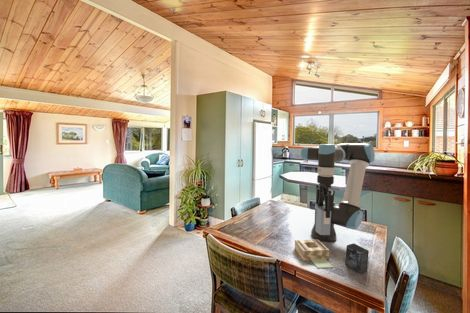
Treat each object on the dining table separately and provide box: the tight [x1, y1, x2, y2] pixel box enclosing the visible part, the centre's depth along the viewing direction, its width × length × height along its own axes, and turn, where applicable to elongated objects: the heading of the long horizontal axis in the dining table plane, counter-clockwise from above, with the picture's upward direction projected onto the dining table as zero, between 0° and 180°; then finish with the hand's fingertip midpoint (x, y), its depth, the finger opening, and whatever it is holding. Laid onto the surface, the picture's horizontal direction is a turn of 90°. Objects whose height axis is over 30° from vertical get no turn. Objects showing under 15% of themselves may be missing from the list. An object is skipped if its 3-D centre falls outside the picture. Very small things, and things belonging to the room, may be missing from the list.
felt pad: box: [310, 259, 334, 269], centre depth 110 cm, size 8×8×1 cm
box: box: [345, 242, 369, 274], centre depth 106 cm, size 8×6×11 cm
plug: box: [315, 206, 331, 235], centre depth 109 cm, size 5×5×13 cm
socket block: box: [294, 239, 330, 261], centre depth 119 cm, size 14×12×5 cm
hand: (323, 221), depth 109 cm, fingers closed on plug, 5 cm apart
